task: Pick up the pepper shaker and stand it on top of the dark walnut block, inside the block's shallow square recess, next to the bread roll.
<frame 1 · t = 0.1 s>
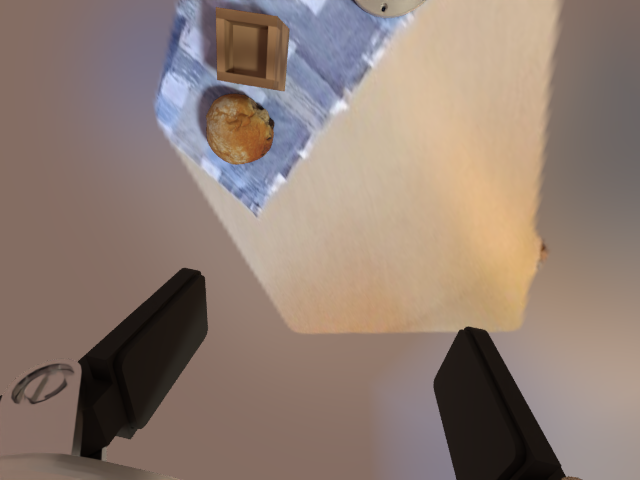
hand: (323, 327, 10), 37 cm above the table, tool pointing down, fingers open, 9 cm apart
walnut block: (261, 57, 39), on the table
bread roll: (245, 129, 43), on the table
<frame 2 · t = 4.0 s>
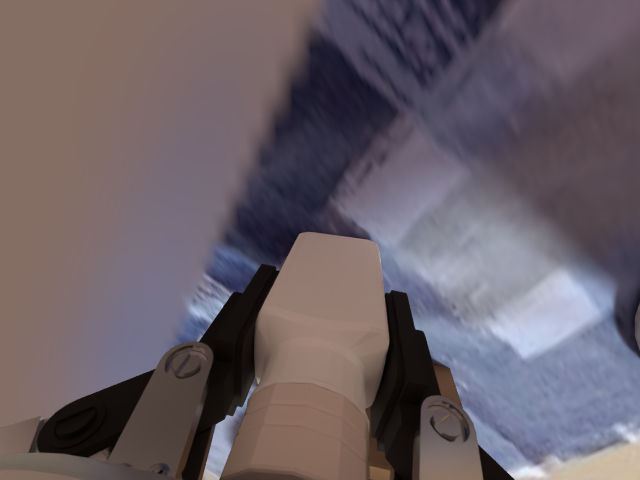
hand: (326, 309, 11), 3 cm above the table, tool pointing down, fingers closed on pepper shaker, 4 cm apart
walnut block: (371, 391, 18), on the table
pepper shaker: (335, 264, 14), on the table, touching gripper
when the fingers open (8 cm above the table, at t = 7.9 s): pepper shaker drops 1 cm, resting on walnut block.
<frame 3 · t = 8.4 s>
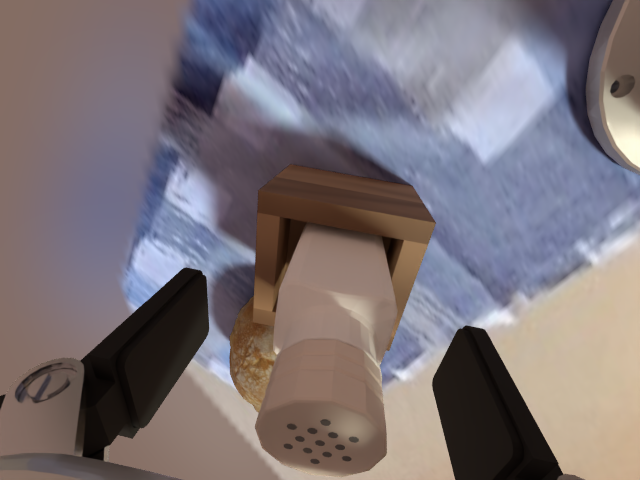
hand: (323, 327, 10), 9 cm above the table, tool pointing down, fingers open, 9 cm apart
walnut block: (340, 228, 18), on the table, touching pepper shaker
pepper shaker: (338, 250, 15), point 3 cm above the table, touching walnut block
bread roll: (301, 328, 23), on the table
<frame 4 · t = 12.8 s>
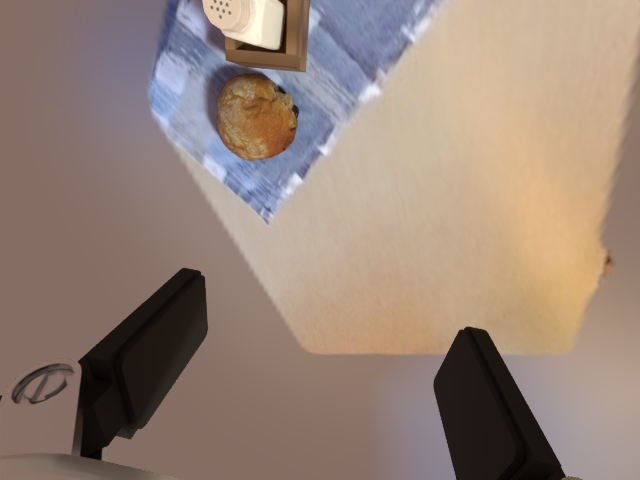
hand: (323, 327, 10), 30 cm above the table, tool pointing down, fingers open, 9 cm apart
walnut block: (277, 32, 32), on the table, touching pepper shaker
pepper shaker: (268, 24, 29), point 3 cm above the table, touching walnut block
bread roll: (263, 118, 36), on the table
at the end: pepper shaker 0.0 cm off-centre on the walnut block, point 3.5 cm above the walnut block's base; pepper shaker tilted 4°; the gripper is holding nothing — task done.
